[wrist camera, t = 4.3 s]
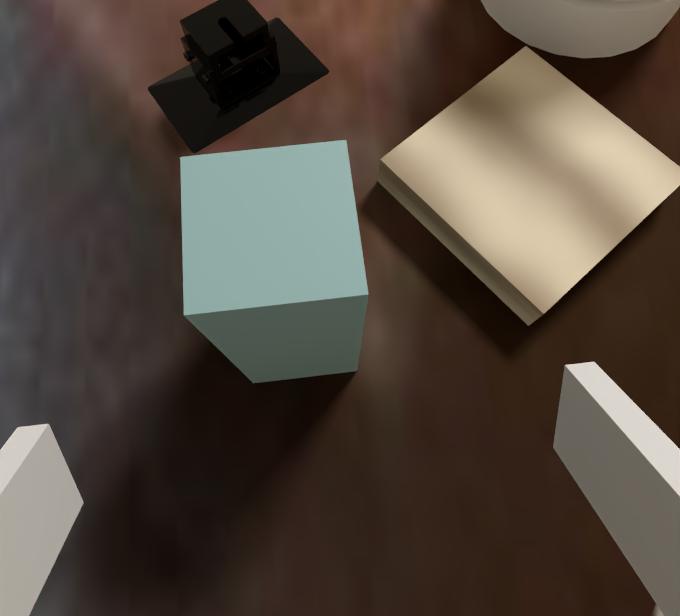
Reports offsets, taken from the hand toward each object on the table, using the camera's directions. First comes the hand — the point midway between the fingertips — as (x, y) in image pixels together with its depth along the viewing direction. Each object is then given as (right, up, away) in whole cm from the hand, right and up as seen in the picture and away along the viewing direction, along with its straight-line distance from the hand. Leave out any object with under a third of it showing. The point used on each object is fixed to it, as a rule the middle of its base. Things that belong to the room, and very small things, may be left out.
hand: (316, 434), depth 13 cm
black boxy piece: (-5, +17, +17) cm, 24 cm away
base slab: (+10, +10, +15) cm, 20 cm away
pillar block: (-1, +2, +12) cm, 12 cm away
